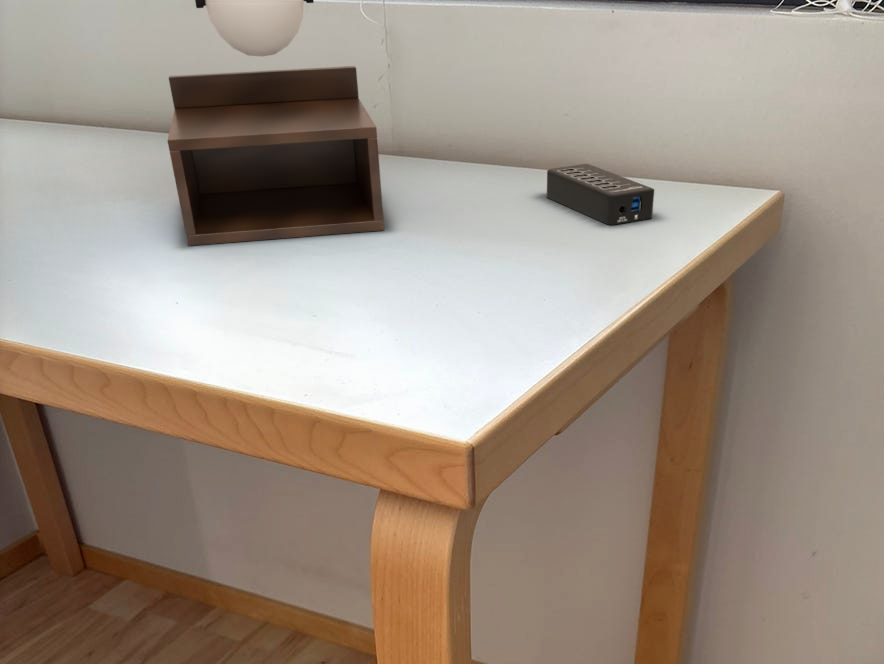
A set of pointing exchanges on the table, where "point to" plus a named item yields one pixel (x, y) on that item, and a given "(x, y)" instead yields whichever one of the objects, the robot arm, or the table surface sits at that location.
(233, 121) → the shelf
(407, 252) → the table surface
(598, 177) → the multiport hub
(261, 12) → the cream oval egg shape
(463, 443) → the table surface
